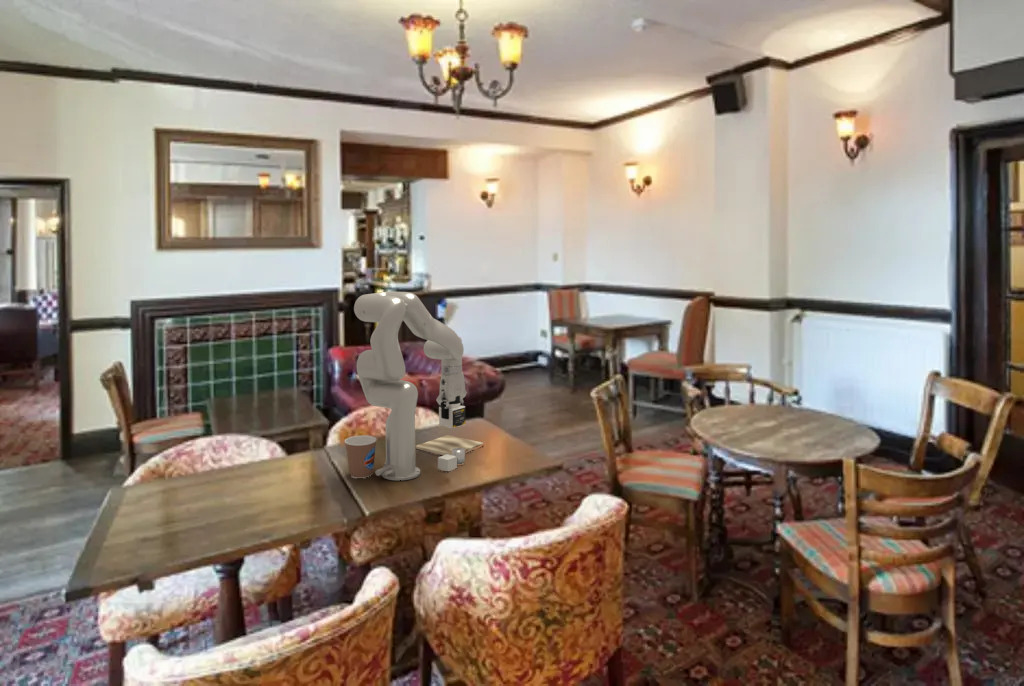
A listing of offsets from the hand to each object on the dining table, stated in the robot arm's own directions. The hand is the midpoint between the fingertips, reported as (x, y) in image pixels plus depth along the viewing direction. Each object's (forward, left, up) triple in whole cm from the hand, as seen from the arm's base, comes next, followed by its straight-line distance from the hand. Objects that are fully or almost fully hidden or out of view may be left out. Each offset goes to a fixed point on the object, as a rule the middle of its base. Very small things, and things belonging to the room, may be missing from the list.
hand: (452, 416), depth 238 cm
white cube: (-19, -14, -13) cm, 27 cm away
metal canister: (-12, -13, -13) cm, 22 cm away
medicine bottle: (0, 0, -4) cm, 4 cm away
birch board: (0, +1, -13) cm, 13 cm away
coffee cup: (-40, +5, -13) cm, 42 cm away
